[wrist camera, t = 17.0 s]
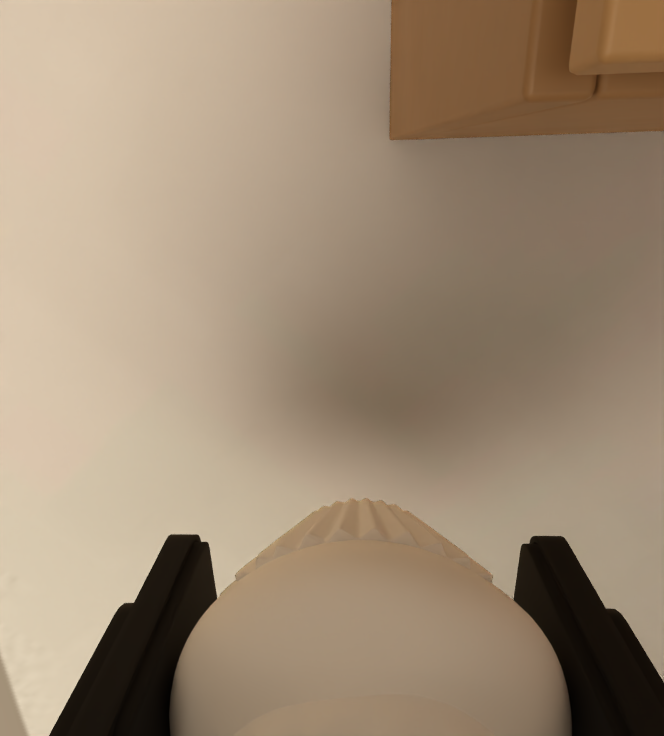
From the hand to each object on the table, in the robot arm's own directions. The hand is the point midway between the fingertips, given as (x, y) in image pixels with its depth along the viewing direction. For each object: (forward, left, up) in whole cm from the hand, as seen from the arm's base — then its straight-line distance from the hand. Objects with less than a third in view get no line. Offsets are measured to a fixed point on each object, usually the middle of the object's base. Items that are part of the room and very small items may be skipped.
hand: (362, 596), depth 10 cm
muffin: (0, 0, -1) cm, 1 cm away
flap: (+14, -4, +4) cm, 15 cm away
